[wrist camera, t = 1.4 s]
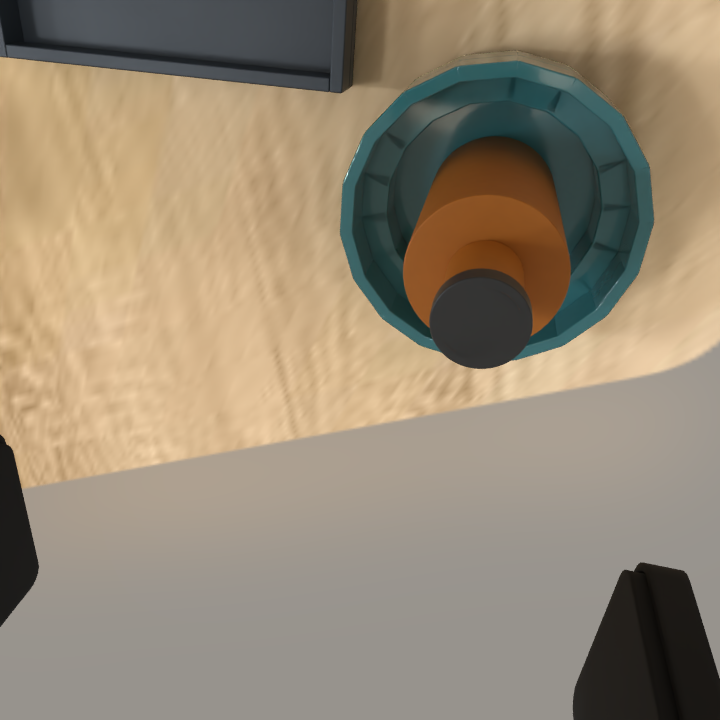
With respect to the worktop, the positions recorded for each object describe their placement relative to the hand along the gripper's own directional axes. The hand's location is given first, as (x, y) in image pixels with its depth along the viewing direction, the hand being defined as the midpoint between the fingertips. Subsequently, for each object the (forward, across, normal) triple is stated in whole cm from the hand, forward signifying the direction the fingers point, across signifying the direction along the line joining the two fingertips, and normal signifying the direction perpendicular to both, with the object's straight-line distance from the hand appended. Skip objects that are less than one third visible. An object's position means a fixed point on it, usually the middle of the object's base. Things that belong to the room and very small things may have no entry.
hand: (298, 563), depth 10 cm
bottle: (+26, -3, +1) cm, 26 cm away
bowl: (+26, -3, +1) cm, 27 cm away
